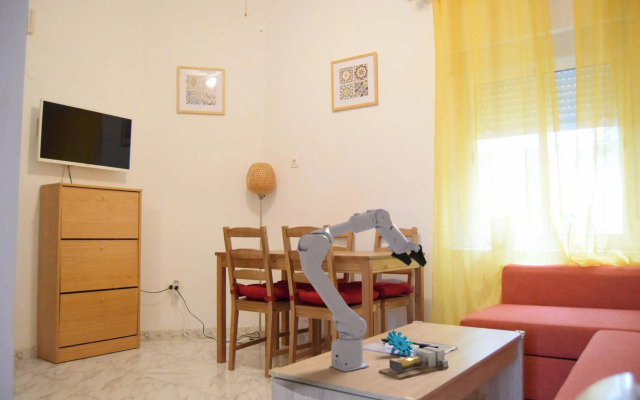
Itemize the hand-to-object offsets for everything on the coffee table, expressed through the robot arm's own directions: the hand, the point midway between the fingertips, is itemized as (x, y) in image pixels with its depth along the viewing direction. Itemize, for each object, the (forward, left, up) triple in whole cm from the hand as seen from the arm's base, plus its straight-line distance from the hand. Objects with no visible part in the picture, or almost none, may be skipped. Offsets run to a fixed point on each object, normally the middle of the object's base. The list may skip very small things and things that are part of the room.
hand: (417, 264), depth 165 cm
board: (-15, -12, -30) cm, 36 cm away
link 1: (-10, -11, -30) cm, 33 cm away
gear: (-4, +5, -31) cm, 31 cm away
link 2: (-6, -13, -30) cm, 33 cm away
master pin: (-18, -12, -29) cm, 36 cm away
